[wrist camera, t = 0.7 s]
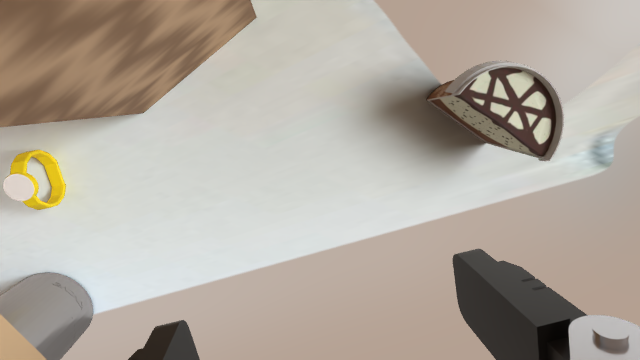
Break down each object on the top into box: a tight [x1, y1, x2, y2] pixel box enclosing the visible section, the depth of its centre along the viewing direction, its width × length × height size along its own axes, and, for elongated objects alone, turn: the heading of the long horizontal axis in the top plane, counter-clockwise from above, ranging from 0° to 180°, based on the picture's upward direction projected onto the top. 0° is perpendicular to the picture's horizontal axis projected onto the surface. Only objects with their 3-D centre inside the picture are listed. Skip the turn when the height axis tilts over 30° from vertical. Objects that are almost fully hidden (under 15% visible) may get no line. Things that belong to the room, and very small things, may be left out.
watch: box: [3, 150, 66, 210], centre depth 38 cm, size 6×3×6 cm, turn 11°
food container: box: [426, 61, 564, 161], centre depth 38 cm, size 12×6×10 cm, turn 57°
